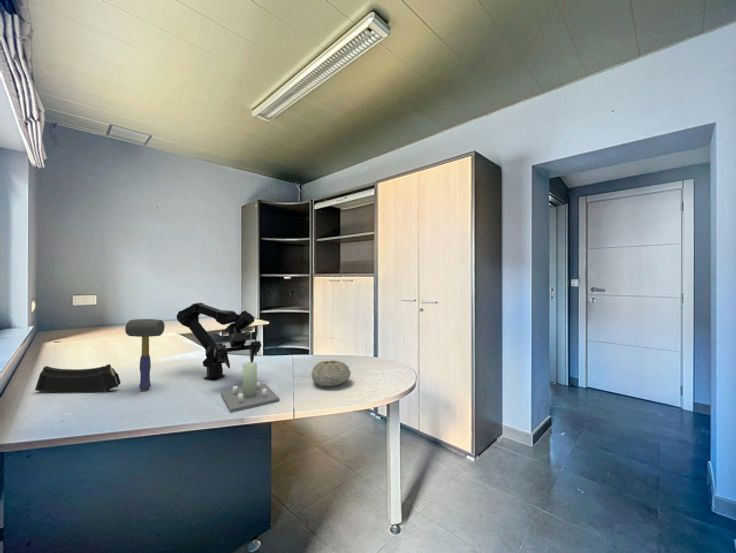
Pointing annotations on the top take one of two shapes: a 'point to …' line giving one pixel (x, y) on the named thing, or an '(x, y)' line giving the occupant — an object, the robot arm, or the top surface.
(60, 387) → the magazine
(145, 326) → the rubber mallet
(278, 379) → the top surface
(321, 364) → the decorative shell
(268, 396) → the peg board
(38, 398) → the top surface
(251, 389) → the post
